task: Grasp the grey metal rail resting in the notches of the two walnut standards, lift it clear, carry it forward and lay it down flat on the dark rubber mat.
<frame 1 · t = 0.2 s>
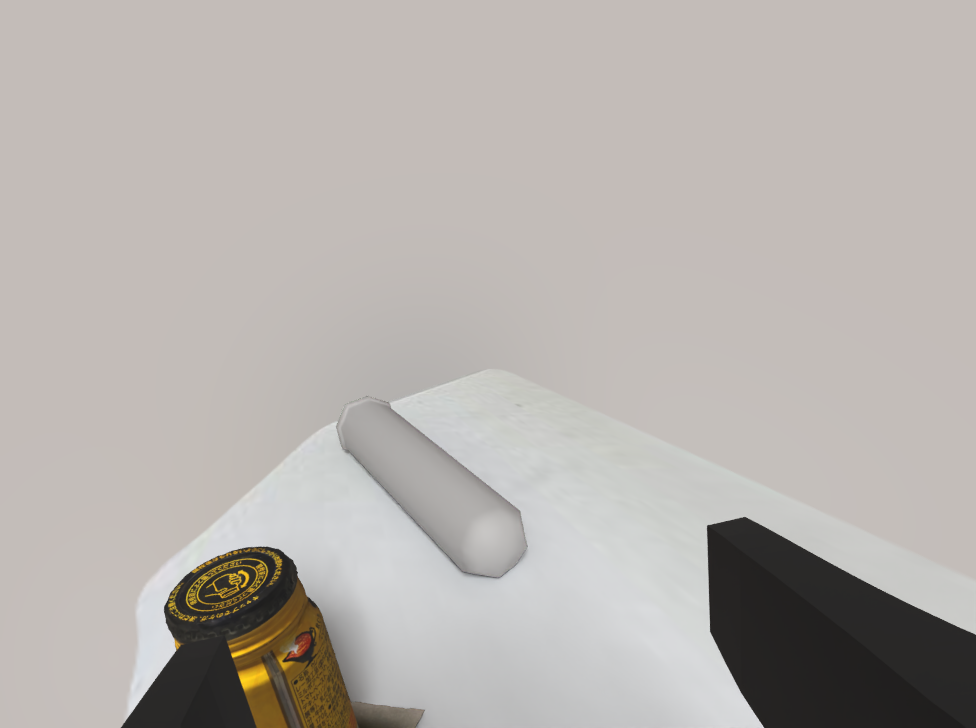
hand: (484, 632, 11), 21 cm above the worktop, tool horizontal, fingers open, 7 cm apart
tube: (429, 506, 56), on the worktop
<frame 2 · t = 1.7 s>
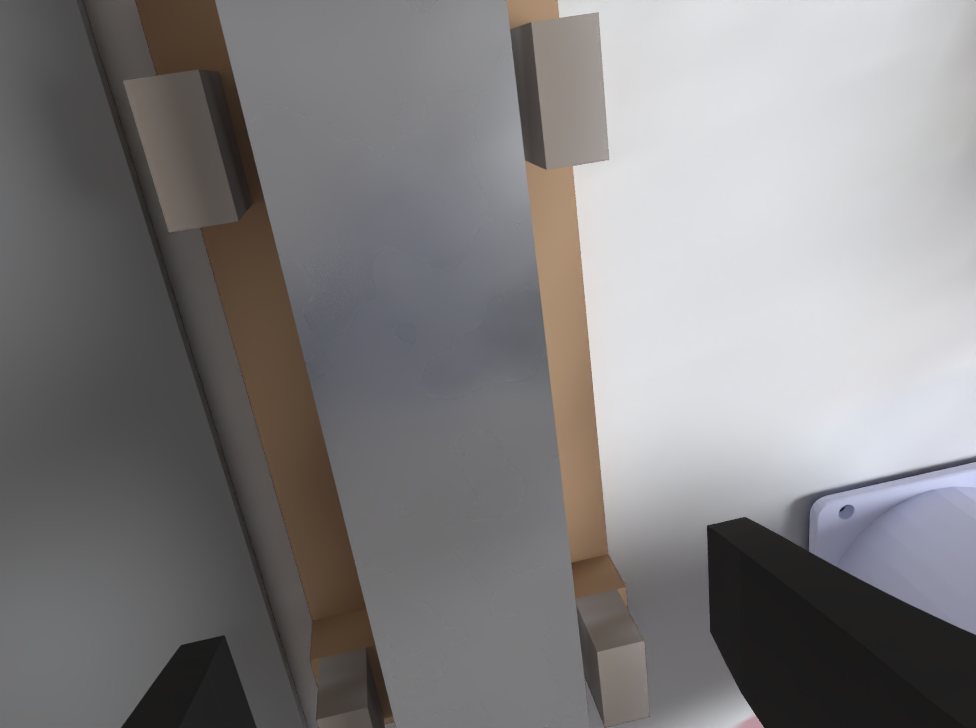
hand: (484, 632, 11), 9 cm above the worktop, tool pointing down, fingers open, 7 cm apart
rail: (436, 429, 17), point 2 cm above the worktop, touching rail stand
mat: (53, 461, 19), on the worktop
rail stand: (426, 388, 20), on the worktop
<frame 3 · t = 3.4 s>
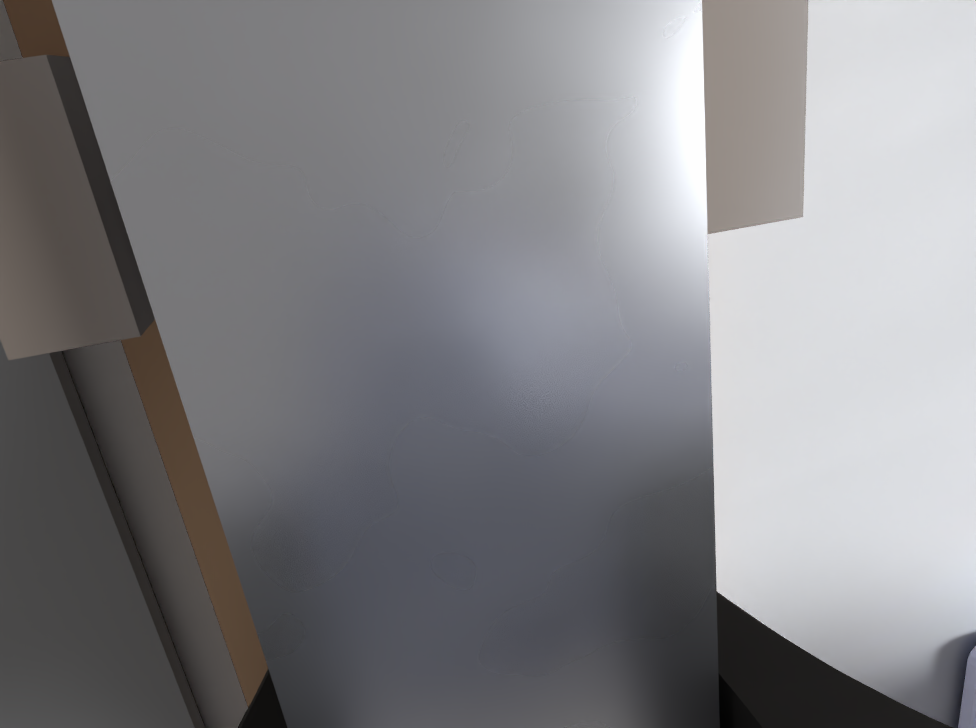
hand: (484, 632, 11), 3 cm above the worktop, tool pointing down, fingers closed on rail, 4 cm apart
rail: (478, 609, 11), point 2 cm above the worktop, touching gripper, rail stand
rail stand: (456, 521, 14), on the worktop
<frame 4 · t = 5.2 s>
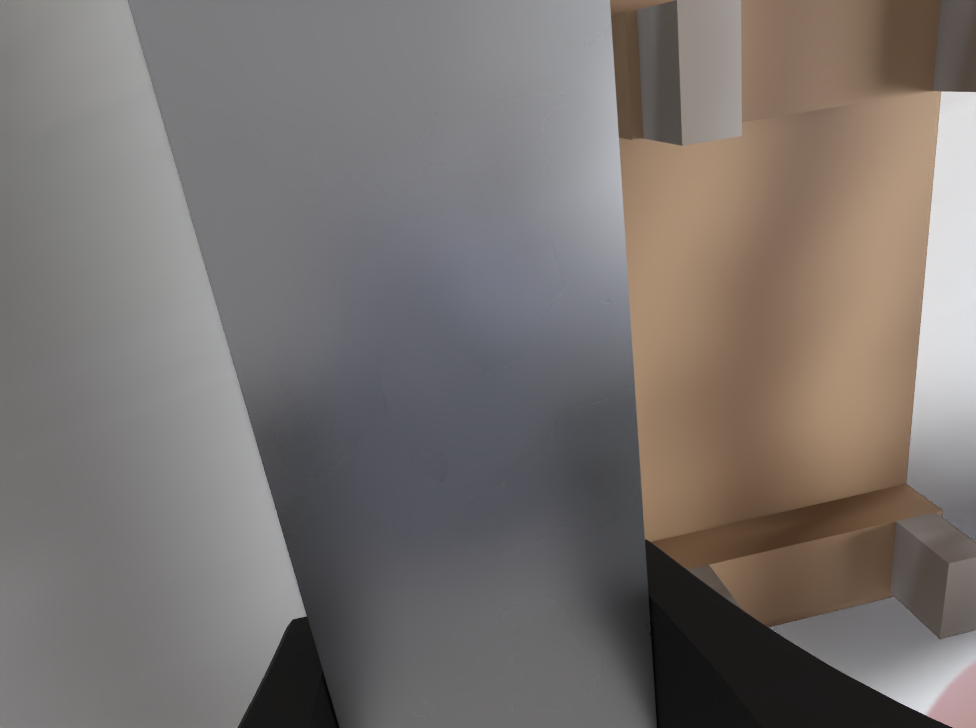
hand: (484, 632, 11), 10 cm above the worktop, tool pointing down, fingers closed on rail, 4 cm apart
rail: (460, 538, 13), point 7 cm above the worktop, touching gripper
rail stand: (758, 321, 21), on the worktop
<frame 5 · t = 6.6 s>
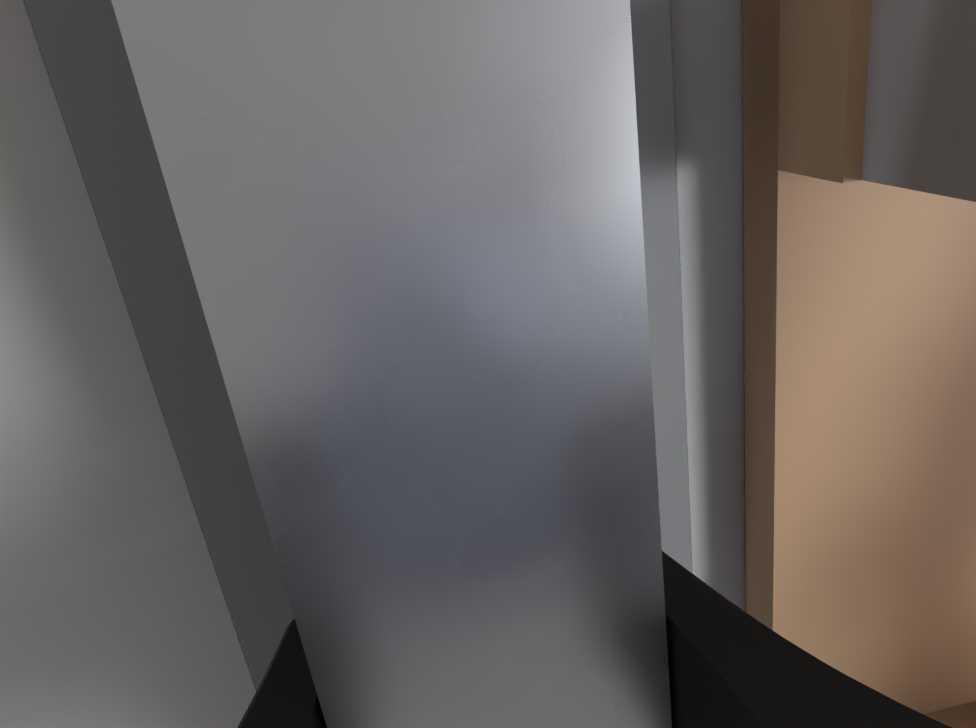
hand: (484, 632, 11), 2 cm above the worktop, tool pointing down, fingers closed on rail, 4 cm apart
rail: (465, 557, 13), resting on mat, touching gripper
mat: (464, 545, 13), on the worktop
rail stand: (955, 436, 14), on the worktop
when the fingers open (2 cm above the worktop, at t = 7.3 s): rail stays where it is, resting on mat.
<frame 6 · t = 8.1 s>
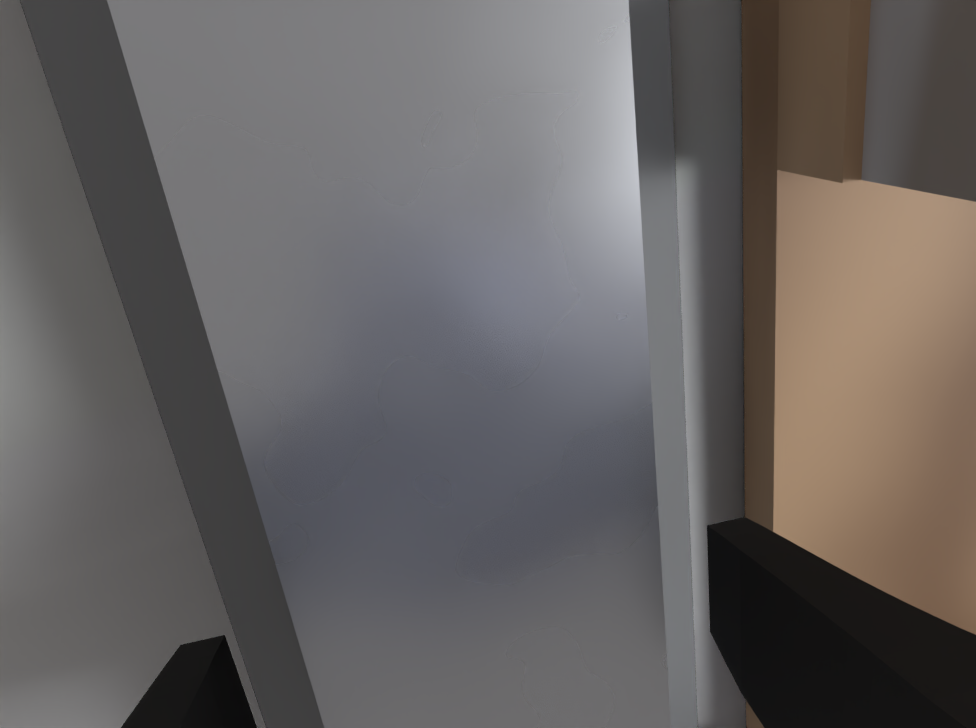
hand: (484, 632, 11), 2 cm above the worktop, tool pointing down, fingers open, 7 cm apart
rail: (464, 558, 13), resting on mat
mat: (463, 545, 13), on the worktop
rail stand: (955, 436, 14), on the worktop
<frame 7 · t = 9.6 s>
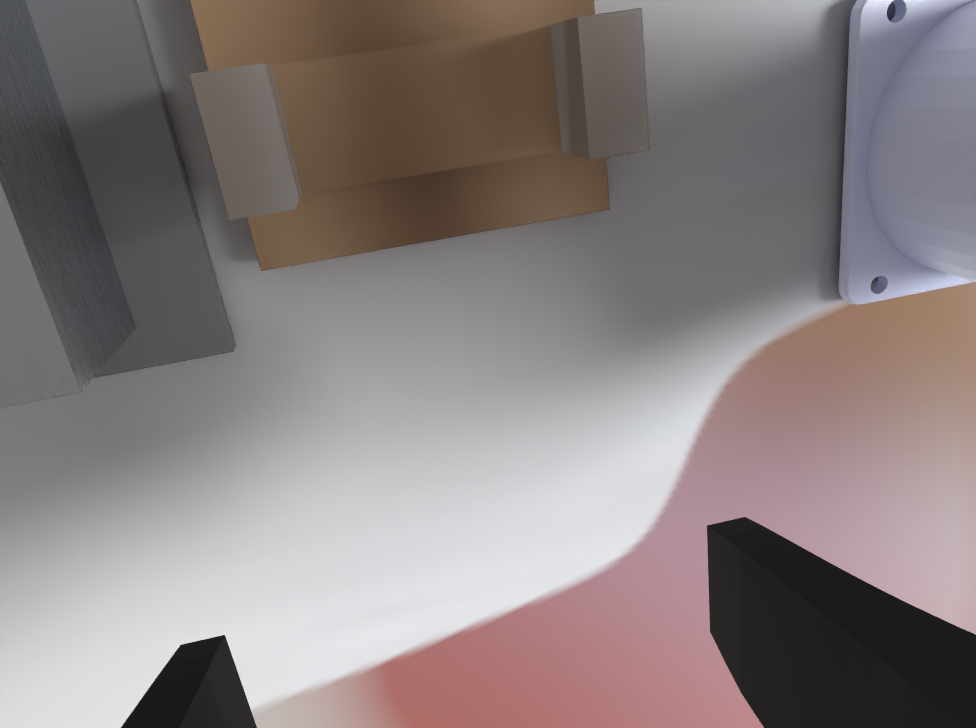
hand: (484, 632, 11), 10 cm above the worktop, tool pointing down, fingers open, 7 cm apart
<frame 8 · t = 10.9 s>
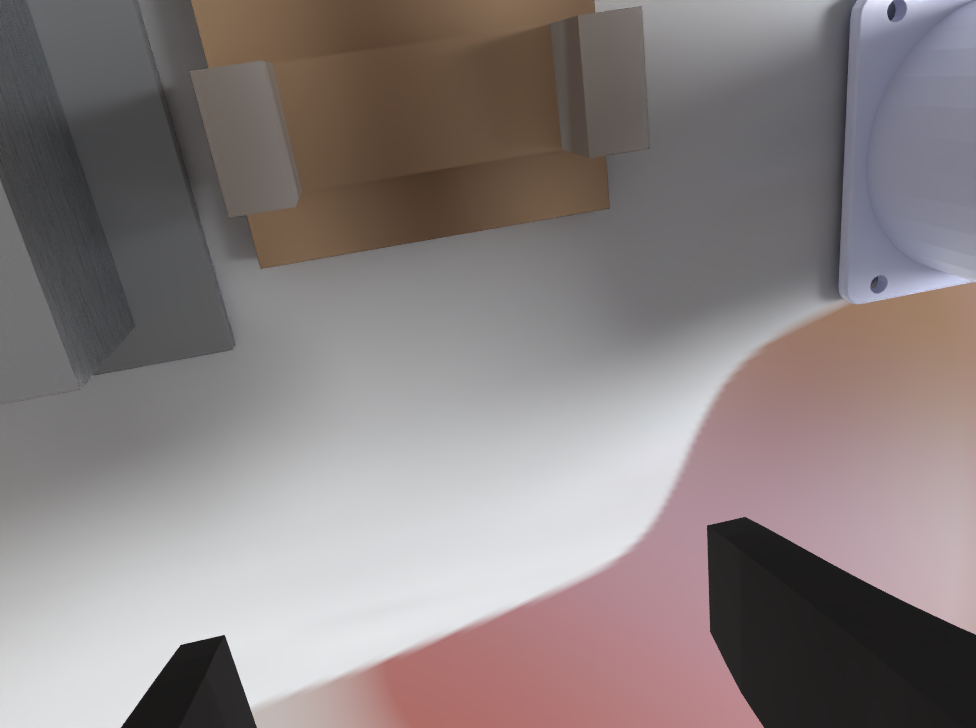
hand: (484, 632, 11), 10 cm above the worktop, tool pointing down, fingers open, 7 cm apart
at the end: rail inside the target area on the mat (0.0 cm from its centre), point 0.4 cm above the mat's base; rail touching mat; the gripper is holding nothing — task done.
